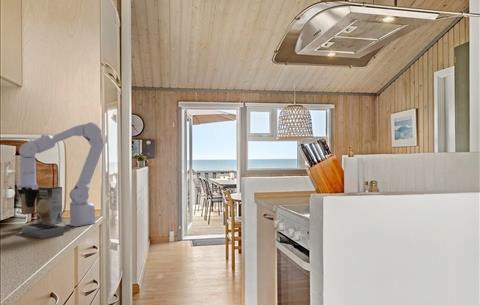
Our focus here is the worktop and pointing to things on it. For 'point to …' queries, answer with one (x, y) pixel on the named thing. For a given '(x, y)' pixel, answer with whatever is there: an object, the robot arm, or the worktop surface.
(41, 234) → the grey shallow tray
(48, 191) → the coffee box
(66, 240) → the worktop surface
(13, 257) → the worktop surface
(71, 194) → the robot arm
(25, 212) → the walnut peg
